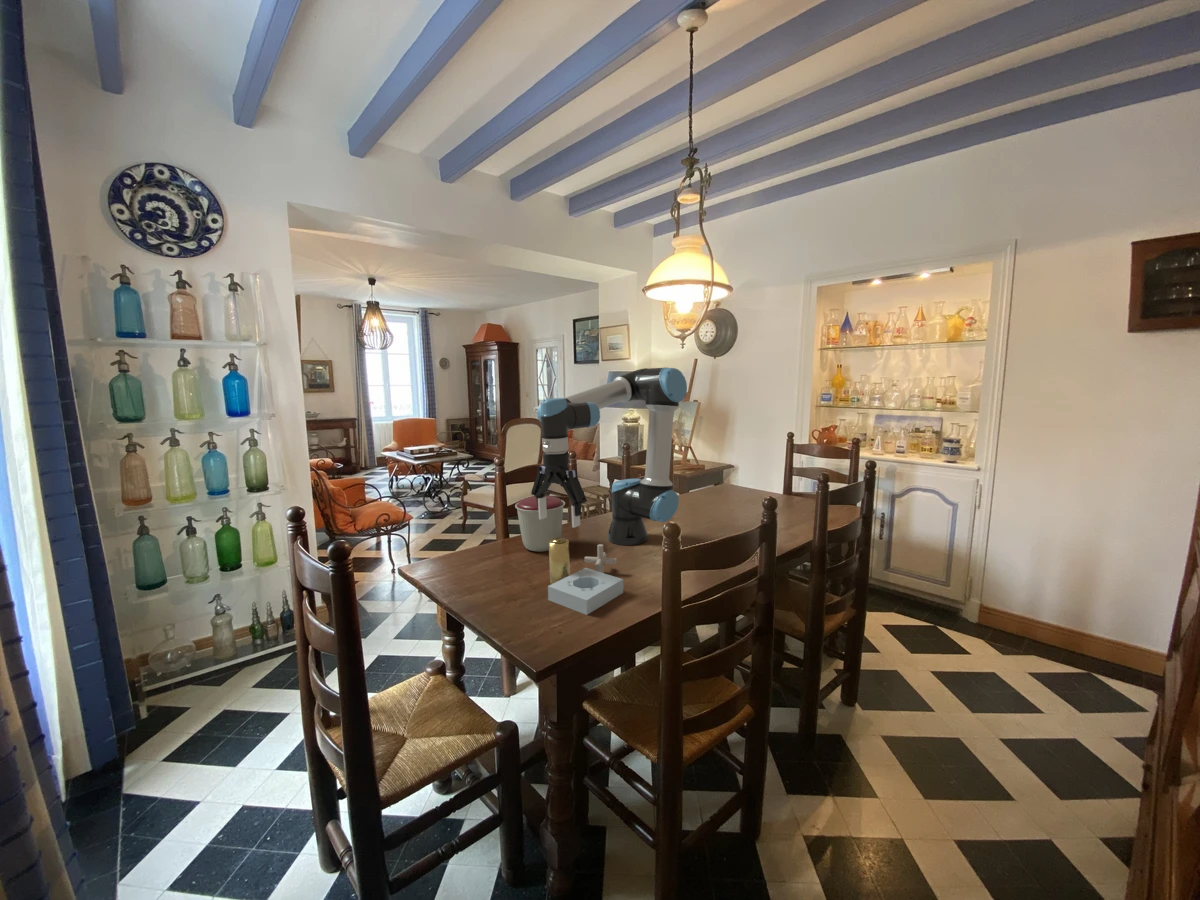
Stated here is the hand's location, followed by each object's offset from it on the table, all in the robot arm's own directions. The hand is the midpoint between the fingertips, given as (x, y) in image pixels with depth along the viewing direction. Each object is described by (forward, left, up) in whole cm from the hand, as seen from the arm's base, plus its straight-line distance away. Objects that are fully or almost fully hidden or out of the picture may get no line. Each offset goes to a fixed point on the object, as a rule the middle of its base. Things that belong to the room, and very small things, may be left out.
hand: (559, 522), depth 141 cm
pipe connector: (-12, +6, -20) cm, 24 cm away
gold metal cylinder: (0, 0, -19) cm, 19 cm away
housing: (+3, +13, -19) cm, 23 cm away
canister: (-19, -28, -20) cm, 39 cm away
